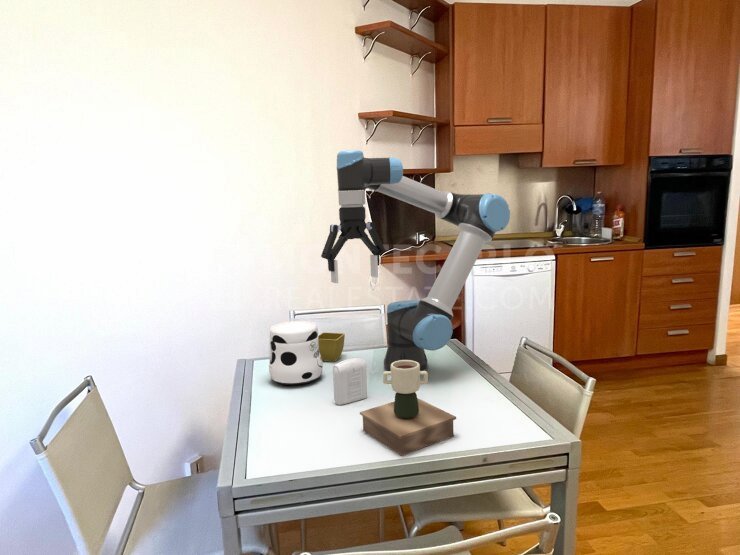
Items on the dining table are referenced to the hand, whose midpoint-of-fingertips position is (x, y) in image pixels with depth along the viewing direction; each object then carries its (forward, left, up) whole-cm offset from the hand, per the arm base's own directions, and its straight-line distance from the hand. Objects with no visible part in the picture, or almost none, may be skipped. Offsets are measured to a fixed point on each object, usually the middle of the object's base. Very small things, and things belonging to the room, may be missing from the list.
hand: (355, 279), depth 152 cm
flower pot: (-9, -34, -35) cm, 50 cm away
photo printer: (+5, +3, -35) cm, 35 cm away
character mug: (+5, +30, -30) cm, 43 cm away
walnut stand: (+5, +30, -35) cm, 46 cm away
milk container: (+10, -23, -35) cm, 43 cm away
